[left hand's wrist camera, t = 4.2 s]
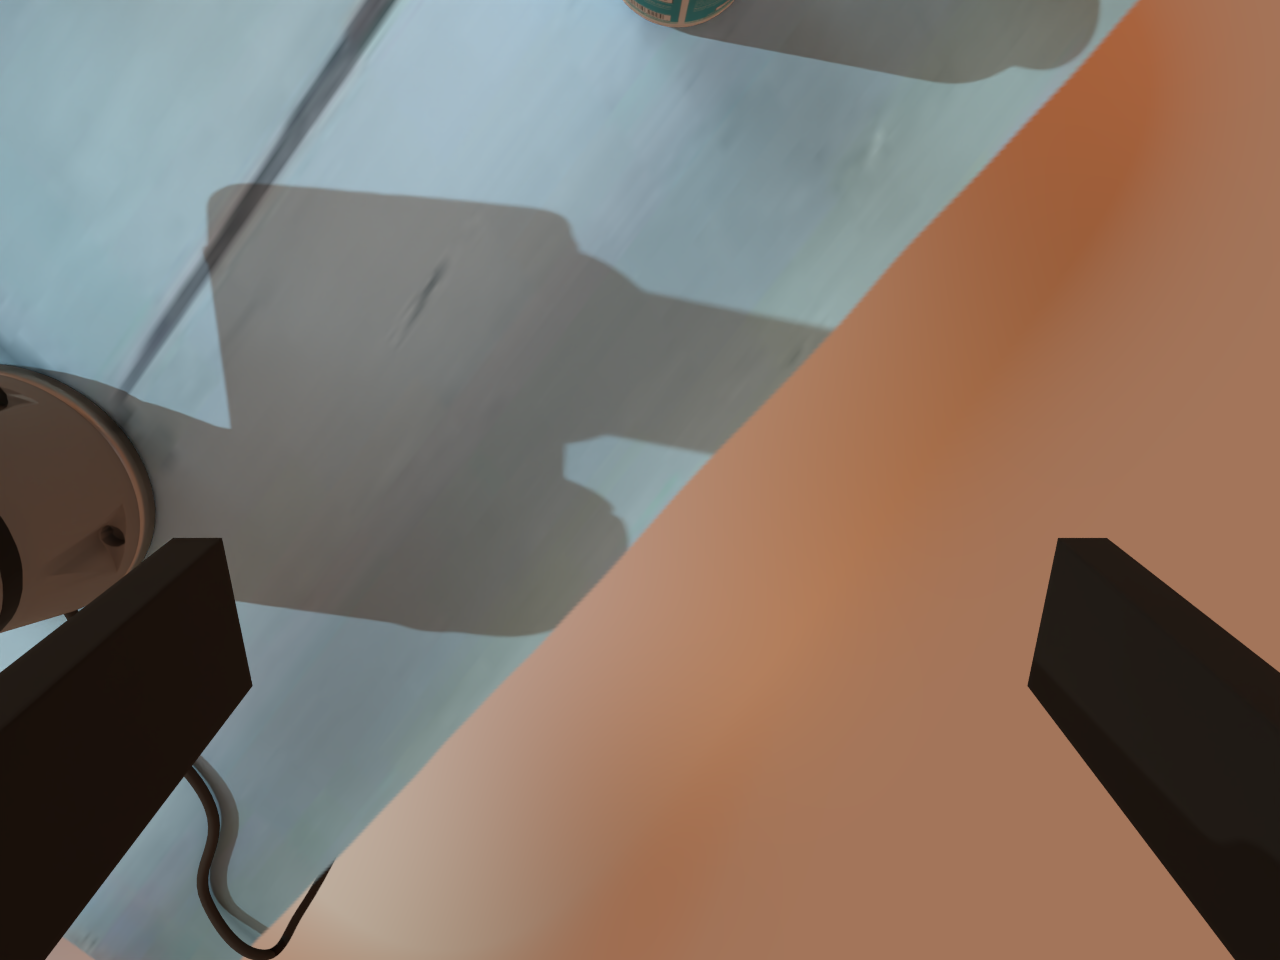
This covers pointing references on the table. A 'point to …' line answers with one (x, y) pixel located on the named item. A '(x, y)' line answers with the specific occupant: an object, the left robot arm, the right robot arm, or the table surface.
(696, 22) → the pill bottle
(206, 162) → the table surface
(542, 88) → the table surface
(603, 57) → the table surface
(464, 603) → the table surface
